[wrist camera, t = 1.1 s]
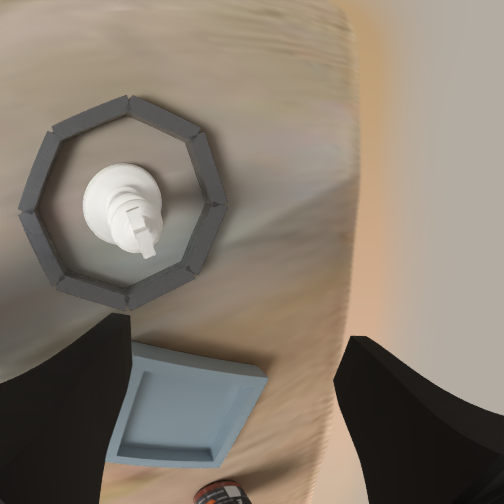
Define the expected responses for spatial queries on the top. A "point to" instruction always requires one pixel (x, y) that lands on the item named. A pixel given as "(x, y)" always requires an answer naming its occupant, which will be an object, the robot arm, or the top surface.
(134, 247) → the chess piece
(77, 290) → the collar
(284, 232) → the top surface
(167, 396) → the tray
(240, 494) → the supplement bottle
